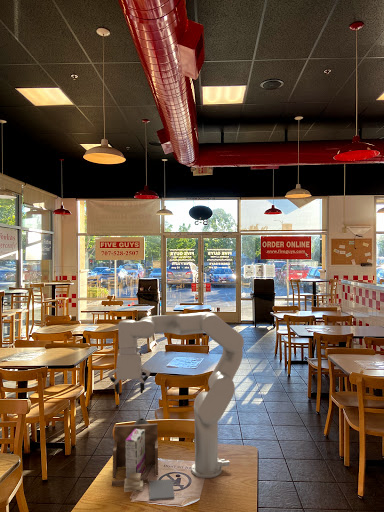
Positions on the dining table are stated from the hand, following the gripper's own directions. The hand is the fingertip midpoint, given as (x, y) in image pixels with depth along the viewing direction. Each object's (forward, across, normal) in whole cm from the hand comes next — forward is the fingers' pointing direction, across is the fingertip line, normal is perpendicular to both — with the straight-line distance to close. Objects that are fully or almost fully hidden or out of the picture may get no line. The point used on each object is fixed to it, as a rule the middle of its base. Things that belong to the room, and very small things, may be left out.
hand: (130, 392), depth 159 cm
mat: (+34, -12, +11) cm, 37 cm away
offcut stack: (+33, -2, +9) cm, 35 cm away
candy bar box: (+33, -1, 0) cm, 33 cm away
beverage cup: (+34, -1, -18) cm, 38 cm away
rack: (+33, -1, 0) cm, 33 cm away
